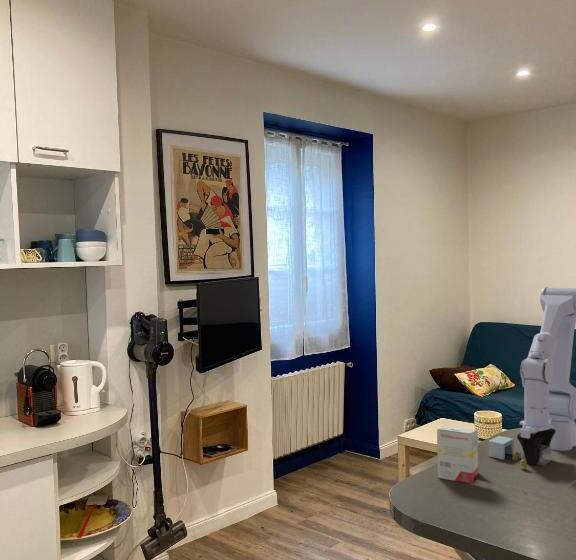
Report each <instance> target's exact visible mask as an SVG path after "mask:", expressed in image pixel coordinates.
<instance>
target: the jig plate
mask: <svg viewBox="0 0 576 560" xmlns="http://www.w3.org/2000/svg"><path fill="white" fill-rule="evenodd" d="M521 454H522V453H521V452H520V451H516V452H515V453H514V454H512V460H513V461H518V459H521V460H520V463H519V465H520V468H521V469H527V467H528V466H527V462H526V460H524V459H523V458H521V457H522V456H521Z"/></svg>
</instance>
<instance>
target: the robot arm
mask: <svg viewBox="0 0 576 560" xmlns="http://www.w3.org/2000/svg"><path fill="white" fill-rule="evenodd" d="M539 298H540V299H539V302H540V306H541V309H542V312H543V317H542V322H541V327H540V331H539V333H537V334H535V335H534V336H533V339H532V343H531V346H530V349H529V351H528V355H527V357H526V358H525V359H523V360H522V361H521V363H520V369H519V374H520V378H521V385H522V388H524V389H523V391H524V394H523V397H524V398H523V401H524V402H523V403H524V405H523V407H524V408H523V410H524V411H523V412H524V414H523V415H524V418H523V420H521V421H519V425H520V426H522V428H521V429H520V433H517V436H516V437H517V440H518V441H519V443H520V445H521V448H522V452H523V451H524V455H525V459H526V462H527V464H529V465H532V466H536V465H537V464H536V462H537V456H538V449H539V446H540V444H543V445H548V446H551V451H552V450H553V451H558V452H559V451H563V452H565V451H571V450H573V448H574V447H576V422H575V420H576V387H575V386H574V385H572V383H570V378H571V377H570V375H571V366H572V356H573V345H574V338H575V337H574V335H575V334H574V333H575V327H576V287H548V286H544V287H543V289H541V291H540V295H539Z"/></svg>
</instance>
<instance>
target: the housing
mask: <svg viewBox="0 0 576 560" xmlns="http://www.w3.org/2000/svg"><path fill="white" fill-rule="evenodd" d="M514 443H515V439H514V438H511V437H507V436H501V435H498V436H496V437H493V438H492V439H490V440H488V457H490V458H494V459H499V460H506V454H508V455H512V454H515V453H514V452H515V444H514Z"/></svg>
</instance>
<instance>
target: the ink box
mask: <svg viewBox="0 0 576 560" xmlns="http://www.w3.org/2000/svg"><path fill="white" fill-rule="evenodd" d="M478 437H479V431H478V429H473V428H467V427H459V426H452V425H446V424H445V425H442V426H440V427H438V428H437V429H436V441H437V442H436V443H437V444H436V445H437V448H436V449H437V454H436V455H437V478H438V479H442V480H448V481H449V480H450V481H453V482H460V483H464V484H465V483H466V484H472V485H473V484H475V482H476V481H477V480H478V479H477V478H475V477H477V476H478V474H479V451H478V449H479V448H478V447H479V442H478V441H479V440H478V439H479V438H478Z"/></svg>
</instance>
